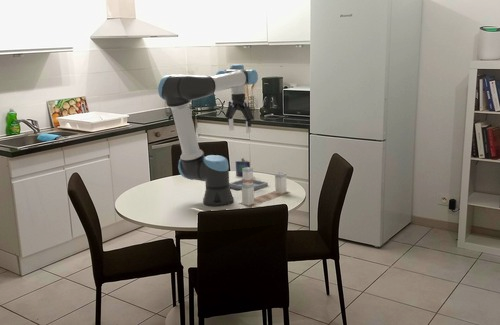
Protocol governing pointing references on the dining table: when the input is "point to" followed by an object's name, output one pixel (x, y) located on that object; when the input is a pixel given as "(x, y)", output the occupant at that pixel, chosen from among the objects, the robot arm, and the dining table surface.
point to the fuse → (248, 193)
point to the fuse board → (265, 198)
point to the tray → (238, 184)
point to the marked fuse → (247, 175)
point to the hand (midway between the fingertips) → (239, 131)
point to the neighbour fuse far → (280, 182)
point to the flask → (241, 166)
